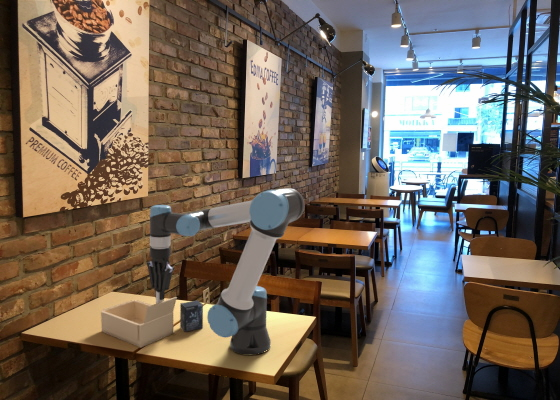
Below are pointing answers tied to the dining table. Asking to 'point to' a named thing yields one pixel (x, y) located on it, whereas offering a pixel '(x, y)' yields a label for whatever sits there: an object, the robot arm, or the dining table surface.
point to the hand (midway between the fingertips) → (159, 307)
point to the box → (191, 315)
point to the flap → (159, 310)
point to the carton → (135, 323)
